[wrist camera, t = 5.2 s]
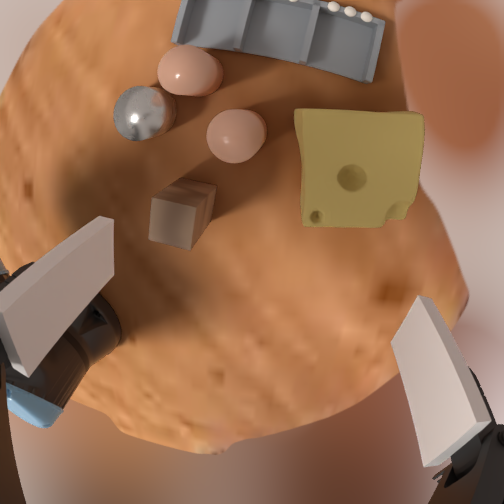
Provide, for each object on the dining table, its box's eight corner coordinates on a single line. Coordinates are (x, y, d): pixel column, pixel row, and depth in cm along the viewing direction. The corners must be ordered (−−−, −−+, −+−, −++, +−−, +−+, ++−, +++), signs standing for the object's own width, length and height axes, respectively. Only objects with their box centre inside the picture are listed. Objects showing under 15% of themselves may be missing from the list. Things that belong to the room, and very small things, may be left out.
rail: (178, 45, 27) (170, 41, 25) (194, -11, 24) (186, -19, 21) (366, 84, 27) (372, 82, 24) (379, 24, 23) (386, 19, 21)
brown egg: (217, 148, 32) (202, 157, 27) (226, 105, 30) (212, 104, 25) (261, 158, 32) (254, 168, 27) (272, 114, 30) (267, 115, 25)
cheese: (387, 200, 32) (417, 234, 23) (295, 197, 34) (295, 231, 25) (391, 110, 28) (428, 112, 19) (293, 104, 29) (293, 102, 20)
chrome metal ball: (128, 133, 33) (110, 137, 29) (135, 85, 30) (117, 84, 26) (172, 140, 32) (158, 144, 29) (181, 89, 30) (167, 88, 26)
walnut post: (175, 212, 36) (148, 239, 29) (180, 177, 34) (151, 197, 27) (210, 221, 36) (190, 250, 29) (217, 185, 34) (196, 207, 27)
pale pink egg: (176, 93, 30) (153, 92, 25) (184, 52, 28) (163, 43, 22) (218, 99, 30) (202, 97, 24) (228, 57, 27) (214, 47, 22)
